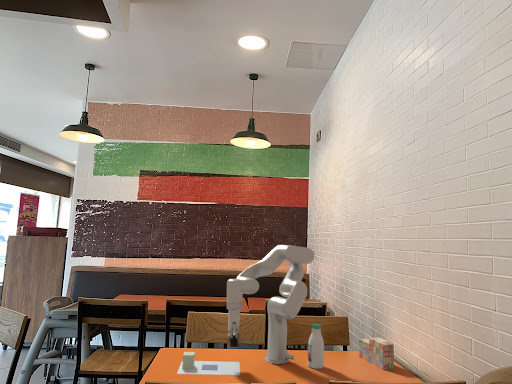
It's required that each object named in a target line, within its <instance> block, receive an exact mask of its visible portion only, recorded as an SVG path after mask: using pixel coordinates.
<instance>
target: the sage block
mask: <svg viewBox="0 0 512 384" xmlns="http://www.w3.org/2000/svg"><path fill="white" fill-rule="evenodd" d="M195 356H196V352H195V351H184V352H183V353H182V361H183V364H182V369H193V368H194V361H196V359H195Z"/></svg>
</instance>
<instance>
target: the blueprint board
mask: <svg viewBox="0 0 512 384" xmlns="http://www.w3.org/2000/svg"><path fill="white" fill-rule="evenodd" d="M182 364H183V360H182V361H181V362H180V365H179V368H178V370H177V372H176V374H177V375H211V376H212V375H214V376H215V375H216V376H217V375H218V376H219V375H220V376H241V369H240V368H241V367H240V365H241V363H240V361H216V360H215V361H211V360H210V361H209V360H206V361H205V360H194V368H193V369H182Z"/></svg>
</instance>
